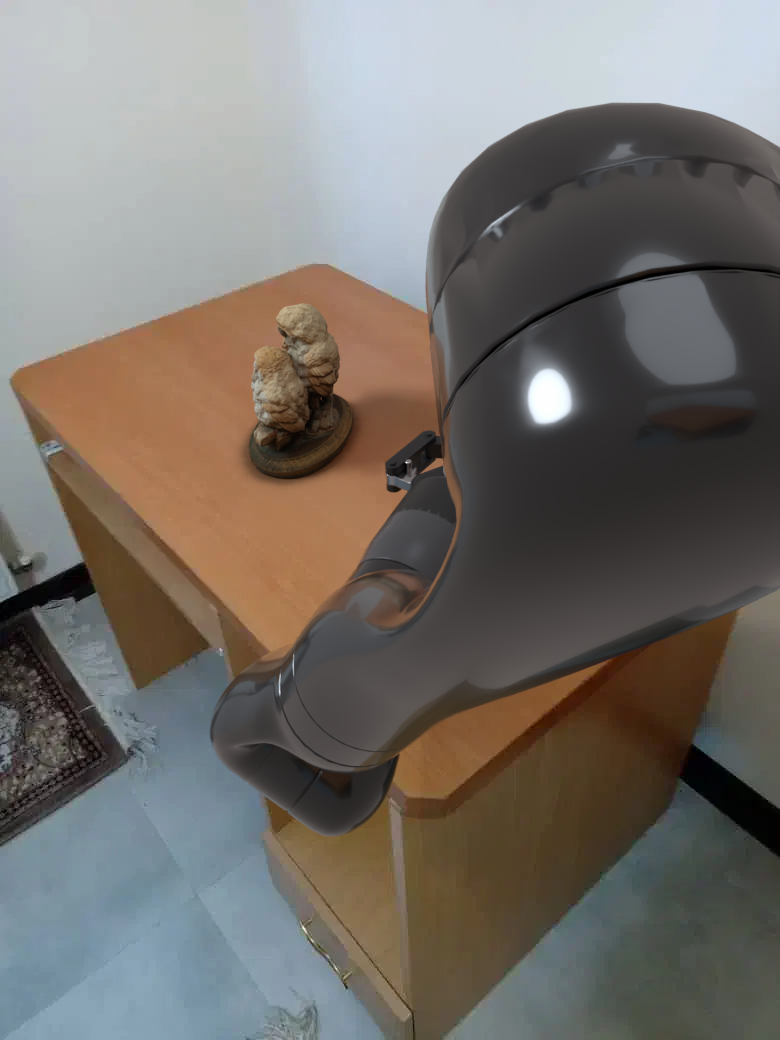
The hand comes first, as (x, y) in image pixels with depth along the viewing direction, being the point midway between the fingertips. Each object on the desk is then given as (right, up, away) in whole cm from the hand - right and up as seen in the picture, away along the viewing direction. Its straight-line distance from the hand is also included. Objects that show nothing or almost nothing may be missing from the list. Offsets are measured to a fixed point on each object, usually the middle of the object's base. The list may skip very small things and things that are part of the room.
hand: (510, 428), depth 66 cm
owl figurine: (-21, +3, +32) cm, 38 cm away
